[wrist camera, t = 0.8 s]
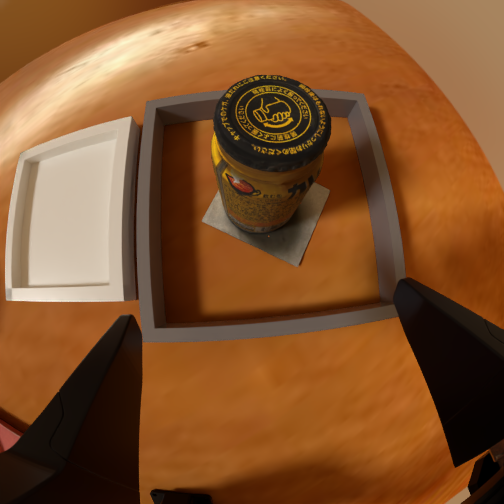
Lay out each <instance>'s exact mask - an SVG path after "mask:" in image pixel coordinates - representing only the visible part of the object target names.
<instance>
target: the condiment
mask: <svg viewBox="0 0 504 504" xmlns="http://www.w3.org/2000/svg"><path fill="white" fill-rule="evenodd" d="M213 122H214V131H215V132H214V135H213V138H212V141H211V158H212V160H213V161H212V162H213V168H214V172H215V175H216V180H217V185H218V188H219V190H218V192H217V194H216V196H215V198H214V199H213V201H212V203H211V205H210V206H209V208H208V210H207V212H206V214H205V216H204V218H203V220H202V222H204V223H206V224H208V225H211V226H213V227H215V228H217V229H219V230H221V231H223V232H225V233H227V234H229V235H231V236H233V237H235V238H237V239H240V240H242V241H244V242H246V243H248V244H250V245H252V246H255V247H257V248H259V249H261V250H263V251H265V252H267V253H269V254H271V255H273V256H275V257H277V258H279V259H282V260H284V261H286V262H288V263H290V264H292V265H294V266H296V267H298V265H299V263H300V261H301V258H302V256H303V253H304V251H305V249H306V247H307V244H308V242H309V240H310V237H311V235H312V233H313V230H314V228H315V226H316V223H317V221H318V219H319V216H320V214H321V212H322V210H323V207H324V205H325V202H326V200H327V198H328V195H329V193H330V190H329V189H327V188H325V187H323V186H321V185H319V184H317V183H315V182H314V181H315V180H316V179H317V177H318V176H319V174H320V171H321V168H322V165H323V159H324V149H325V147H326V146H327V142H328V141H329V138H330V135H331V117H330V115H329V112H328V109H327V107H326V105H325V103H324V102H323V100H322V99H320V98H319V96H318V95H317V94H316V93H315V92H313V91H312V90H311V89H310V88H309V87H308V86H306V85H304V84H302V83H300V82H298V81H296V80H293V79H290V78H287V77H282V76H278V75H256V76H253V77H249V78H246V79H244V80H241V81H239V82H237V83H236V84H234V85H232V86H231V87H230V88H229V89H228V90H227V92H226V93H224V95H223V96H222V97H221V98H220V99H219V101H218V103H217V104H216V108H215V112H214V118H213ZM300 203H301V204H300ZM268 235H269V236H270V237H268Z"/></svg>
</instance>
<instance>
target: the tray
mask: <svg viewBox="0 0 504 504" xmlns="http://www.w3.org/2000/svg"><path fill="white" fill-rule="evenodd" d="M139 136H140V129H139V127H138V125H137V124H136V122H135V121H134V119H133V117H132V116H130V117H126V118H122V119H118V120H114V121H110V122H106V123H103V124H99V125H96V126H92V127H89V128H86V129H82V130H79V131H76V132H73V133H70V134H67V135H64V136H61V137H59V138H56V139H53V140H51V141H48V142H45V143H43V144H40V145H38V146H35V147H33V148H31V149H28V150H26V151H24V152H22V153H20V157H19V161H18V165H17V170H16V174H15V179H14V184H13V190H12V196H11V202H10V209H9V217H8V226H7V238H6V257H5V286H6V300H11V301H46V302H104V301H130V300H136V288H135V268H134V200H135V181H136V167H137V155H138V145H139Z"/></svg>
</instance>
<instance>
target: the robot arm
mask: <svg viewBox="0 0 504 504" xmlns="http://www.w3.org/2000/svg"><path fill="white" fill-rule="evenodd" d="M393 303H394V306H395V308H396V311H397V313H398V316H399V319H400V321H401V324H402V327H403V329H404V332H405V335H406V337H407V339H408V342H409V344H410V346H411V348H412V350H413V353H414V355H415V357H416V359H417V362H418V364H419V366H420V369H421V371H422V373H423V376H424V378H425V381H426V383H427V386H428V388H429V391H430V393H431V396H432V398H433V401H434V404H435V406H436V409H437V412H438V415H439V418H440V421H441V424H442V427H443V430H444V433H445V436H446V439H447V443H448V446H449V450H450V453H451V457H452V460H453V464H454V466H455V468H456V467H458V466H460V465H462V464H463V463H465V462H467V461H469V460H471V459H473V458H474V457H476V456H478V455H480V454H481V453H483V452H485V451H486V450H489V451H487V452H486V453H485V454H484V455H483V456H482V457H481V458H479V459H478V460H477V461H476V462H475V465H474V468H473V472H472V475H471V478H470V481H469V484H468V489H469V492H470V495H471V496H470V497H469V498H467V499H466V500H465V501H463V502H462V503H461V504H504V330H503V329H501V328H499V327H498V326H496V325H494V324H493V323H491V322H489V321H487V320H486V319H483V318H482V317H481V316H479V315H477V314H475V313H474V312H472V311H470V310H469V309H467V308H465V307H463V306H461V305H460V304H458V303H456V302H454V301H453V300H451V299H449V298H447V297H445V296H444V295H442V294H440V293H438V292H436V291H434V290H433V289H431V288H429V287H427V286H425V285H423V284H421V283H419V282H417V281H416V280H414V279H412V278H409V277H407V278H402V279H400V280H399V281H398V283H397V286H396V289H395V292H394V294H393ZM141 393H142V333H141V330H140V328H139V326H138V324H137V321H136V319H135V317H134V316H133V315H131V314H129V315H121V316H120V317H119V318H118V319H117V320H116V321H115V322H114V323H113V325H112V326H111V327H110V328H109V329H108V330H107V332H106V333H105V334H104V335H103V336H102V337H101V339H100V340H99V341H98V342H97V343H96V345H95V346H94V347H93V348H92V349H91V351H90V352H89V353H88V354H87V356H86V357H85V358H84V359H83V360H82V362H81V363H80V364H79V365H78V367H77V368H76V369H75V370H74V372H73V373H72V374H71V376H70V377H69V378H68V379H67V381H66V382H65V383H64V385H63V386H62V387H61V388H60V390H59V392H57V394H56V395H55V396H54V398H53V399H52V400H51V401H50V403H49V404H48V405H47V407H46V408H45V409H44V410H43V412H42V413H41V414H40V415H39V416H38V418H37V419H36V420H35V421H34V422H33V423H32V425H31V426H30V427H29V428H28V429H27V430H26V431H25V432H24V434H23V435H22V436H21V437H20V438H19V439H18V441H17V442H16V443H15V444H14V445H13V446H12V447H11V448H9V449H8V450H6V451H4V452H1V453H0V504H140V492H139V425H140V407H141ZM150 495H151V497H152V499H153V502H154V504H213V502H212V498H211V497H210V496H209V495H199V494H184V493H174V492H165V491H158V490H152V491H151V493H150ZM205 498H206V499H205Z"/></svg>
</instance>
